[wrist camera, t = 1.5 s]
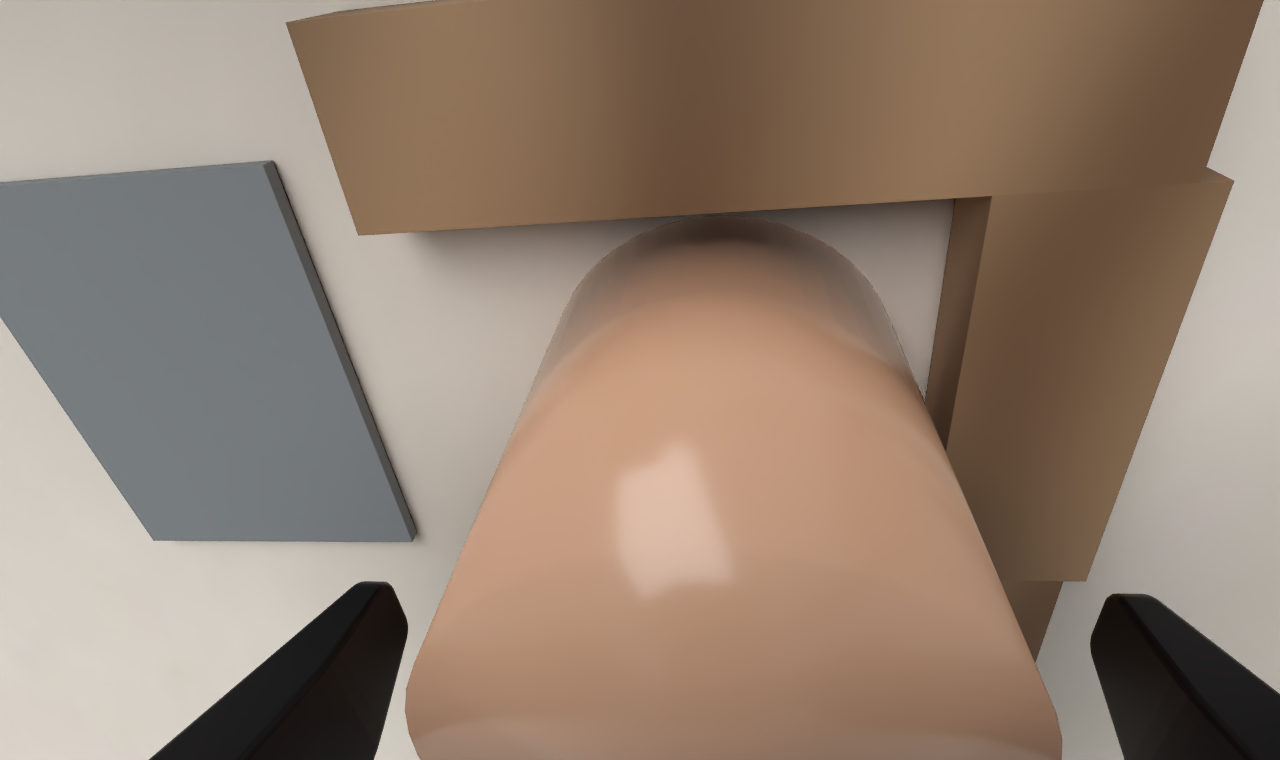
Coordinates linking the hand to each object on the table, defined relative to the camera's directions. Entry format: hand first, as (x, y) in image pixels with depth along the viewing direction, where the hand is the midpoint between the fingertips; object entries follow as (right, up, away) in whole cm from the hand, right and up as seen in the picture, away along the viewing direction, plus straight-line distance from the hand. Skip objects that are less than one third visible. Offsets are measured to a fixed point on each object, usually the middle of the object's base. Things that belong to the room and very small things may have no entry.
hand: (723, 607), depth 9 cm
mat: (-10, +3, +6) cm, 12 cm away
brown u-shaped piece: (0, +3, +5) cm, 5 cm away
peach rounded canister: (+1, +2, +6) cm, 6 cm away
